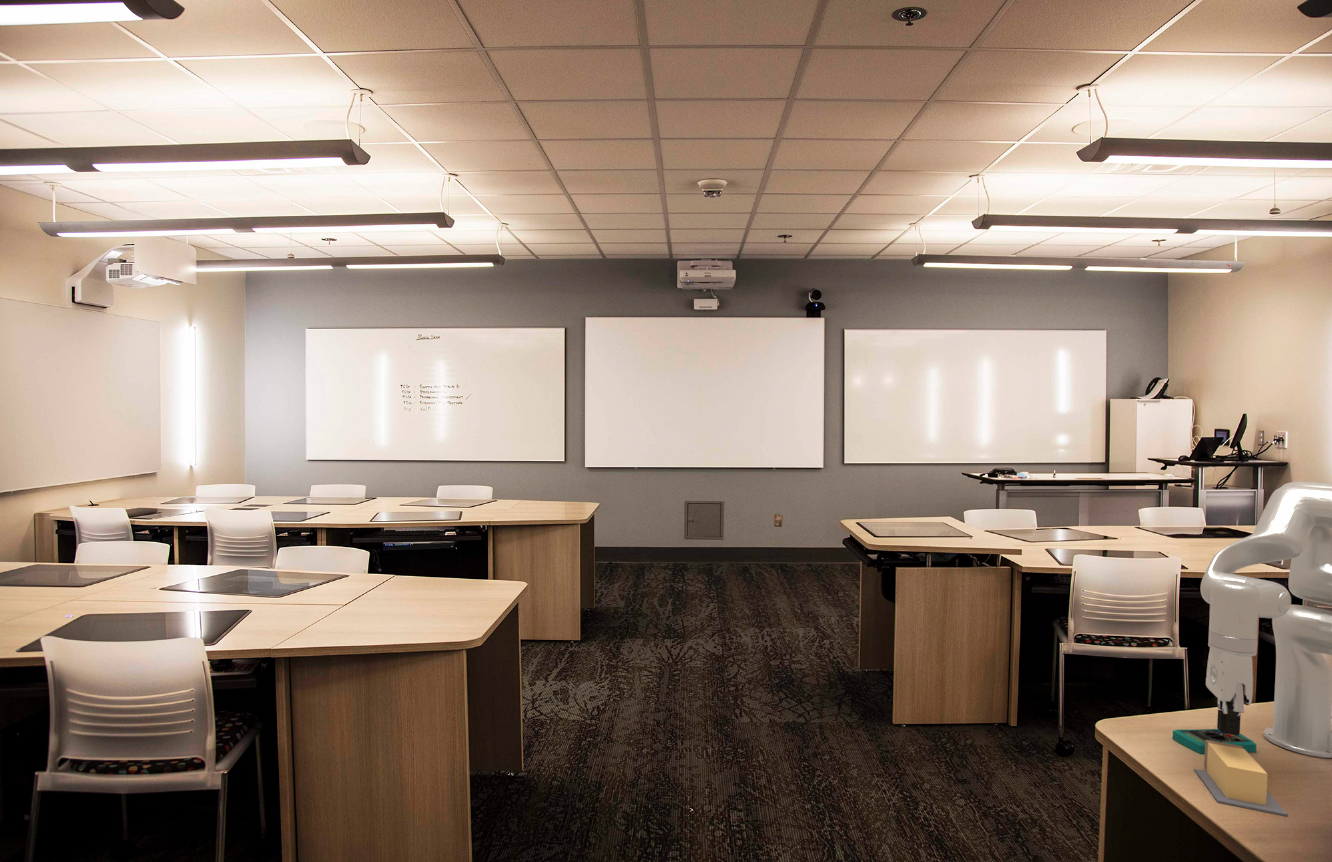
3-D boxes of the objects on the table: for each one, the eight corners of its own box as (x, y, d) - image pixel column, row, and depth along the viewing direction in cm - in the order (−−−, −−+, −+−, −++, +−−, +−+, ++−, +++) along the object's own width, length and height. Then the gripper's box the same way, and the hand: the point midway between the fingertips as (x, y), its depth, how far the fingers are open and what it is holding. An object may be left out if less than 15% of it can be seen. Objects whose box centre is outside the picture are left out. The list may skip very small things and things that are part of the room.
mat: (1257, 782, 136) (1257, 780, 136) (1288, 816, 124) (1288, 814, 124) (1194, 770, 140) (1194, 768, 140) (1217, 802, 128) (1217, 800, 128)
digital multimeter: (1259, 754, 149) (1260, 741, 149) (1199, 756, 147) (1199, 742, 147) (1228, 738, 156) (1228, 726, 156) (1170, 740, 154) (1170, 727, 154)
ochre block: (1241, 745, 138) (1267, 773, 126) (1240, 774, 138) (1266, 804, 127) (1205, 739, 140) (1227, 766, 129) (1204, 768, 140) (1226, 797, 129)
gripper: (1196, 629, 145) (1193, 714, 145) (1223, 650, 131) (1219, 743, 131) (1240, 634, 142) (1236, 721, 142) (1272, 657, 128) (1267, 752, 128)
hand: (1228, 731), depth 136 cm, fingers closed
